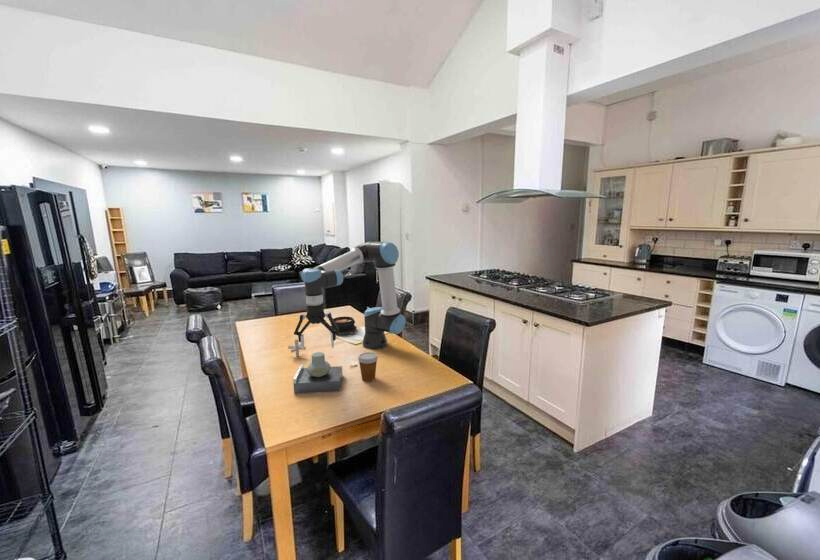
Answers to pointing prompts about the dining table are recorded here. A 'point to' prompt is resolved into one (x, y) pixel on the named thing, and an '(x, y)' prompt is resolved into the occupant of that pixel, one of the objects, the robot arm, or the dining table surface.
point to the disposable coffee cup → (368, 366)
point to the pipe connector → (296, 347)
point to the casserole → (345, 325)
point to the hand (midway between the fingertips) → (318, 347)
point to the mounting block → (317, 381)
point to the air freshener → (318, 365)
